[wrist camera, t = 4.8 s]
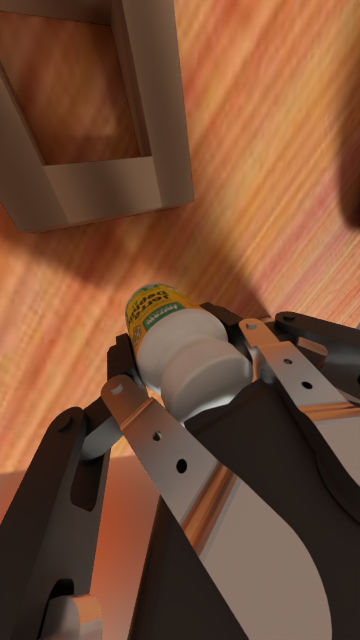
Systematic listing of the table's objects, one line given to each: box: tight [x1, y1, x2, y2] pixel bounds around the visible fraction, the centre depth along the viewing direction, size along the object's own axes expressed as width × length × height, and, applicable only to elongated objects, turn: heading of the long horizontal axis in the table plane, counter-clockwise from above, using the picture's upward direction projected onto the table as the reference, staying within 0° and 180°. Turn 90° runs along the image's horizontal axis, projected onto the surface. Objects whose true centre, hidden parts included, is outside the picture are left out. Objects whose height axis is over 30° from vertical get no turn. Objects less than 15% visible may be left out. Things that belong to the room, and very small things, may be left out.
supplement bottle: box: [125, 283, 253, 428], centre depth 10 cm, size 5×5×10 cm
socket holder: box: [0, 0, 194, 233], centre depth 10 cm, size 13×13×3 cm
